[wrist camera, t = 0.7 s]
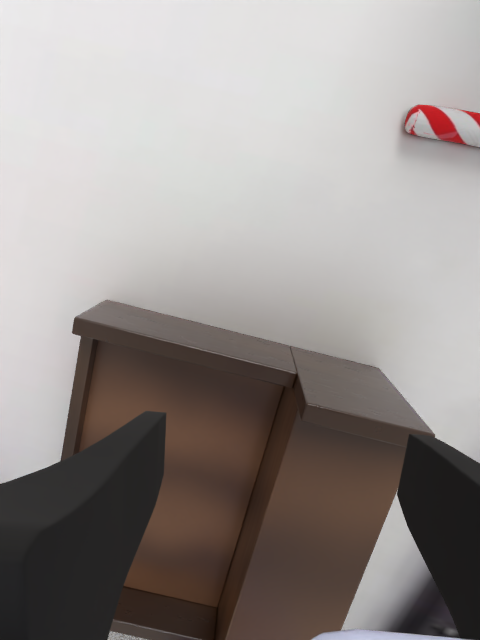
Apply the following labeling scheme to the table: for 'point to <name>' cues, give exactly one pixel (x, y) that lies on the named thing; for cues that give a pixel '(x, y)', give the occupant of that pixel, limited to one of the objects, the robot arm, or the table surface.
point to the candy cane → (444, 124)
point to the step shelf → (242, 473)
